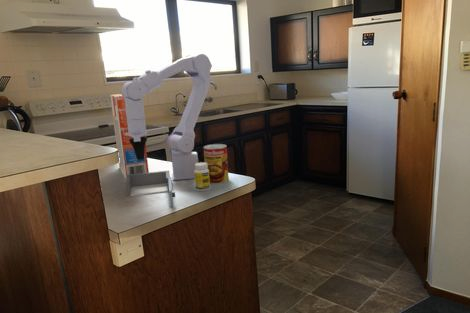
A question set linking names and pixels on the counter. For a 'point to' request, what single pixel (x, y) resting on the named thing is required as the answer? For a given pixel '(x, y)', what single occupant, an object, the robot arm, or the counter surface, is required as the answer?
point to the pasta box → (125, 140)
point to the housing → (147, 183)
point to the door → (171, 194)
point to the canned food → (216, 162)
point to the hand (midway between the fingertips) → (140, 159)
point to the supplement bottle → (202, 177)
